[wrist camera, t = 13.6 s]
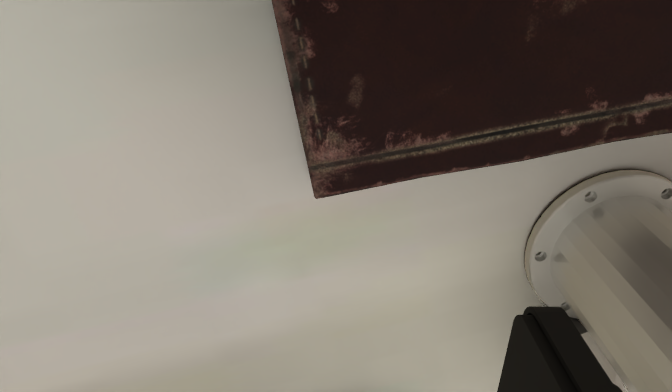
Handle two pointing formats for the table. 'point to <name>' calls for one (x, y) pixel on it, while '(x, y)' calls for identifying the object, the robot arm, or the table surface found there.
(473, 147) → the diary
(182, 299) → the table surface
